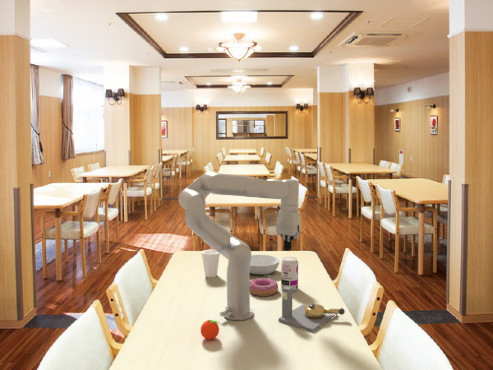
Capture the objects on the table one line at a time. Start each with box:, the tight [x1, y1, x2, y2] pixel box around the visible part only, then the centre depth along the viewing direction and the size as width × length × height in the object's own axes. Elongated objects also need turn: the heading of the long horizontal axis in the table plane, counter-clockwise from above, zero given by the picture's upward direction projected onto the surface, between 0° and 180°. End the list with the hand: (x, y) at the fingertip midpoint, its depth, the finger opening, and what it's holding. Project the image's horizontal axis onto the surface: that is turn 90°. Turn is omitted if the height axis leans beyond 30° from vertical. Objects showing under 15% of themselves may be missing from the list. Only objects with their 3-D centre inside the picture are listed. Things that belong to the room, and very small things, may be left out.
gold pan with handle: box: [304, 303, 346, 319], centre depth 184 cm, size 16×8×4 cm, turn 84°
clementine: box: [200, 319, 222, 341], centre depth 166 cm, size 8×7×7 cm
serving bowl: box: [250, 254, 280, 276], centre depth 244 cm, size 21×21×7 cm
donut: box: [250, 277, 279, 297], centre depth 215 cm, size 14×14×5 cm
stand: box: [278, 286, 338, 332], centre depth 183 cm, size 20×17×13 cm
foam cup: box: [201, 248, 221, 278], centre depth 238 cm, size 10×9×13 cm
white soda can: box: [280, 256, 299, 292], centre depth 218 cm, size 8×8×15 cm
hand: (287, 249), depth 194 cm, fingers closed
